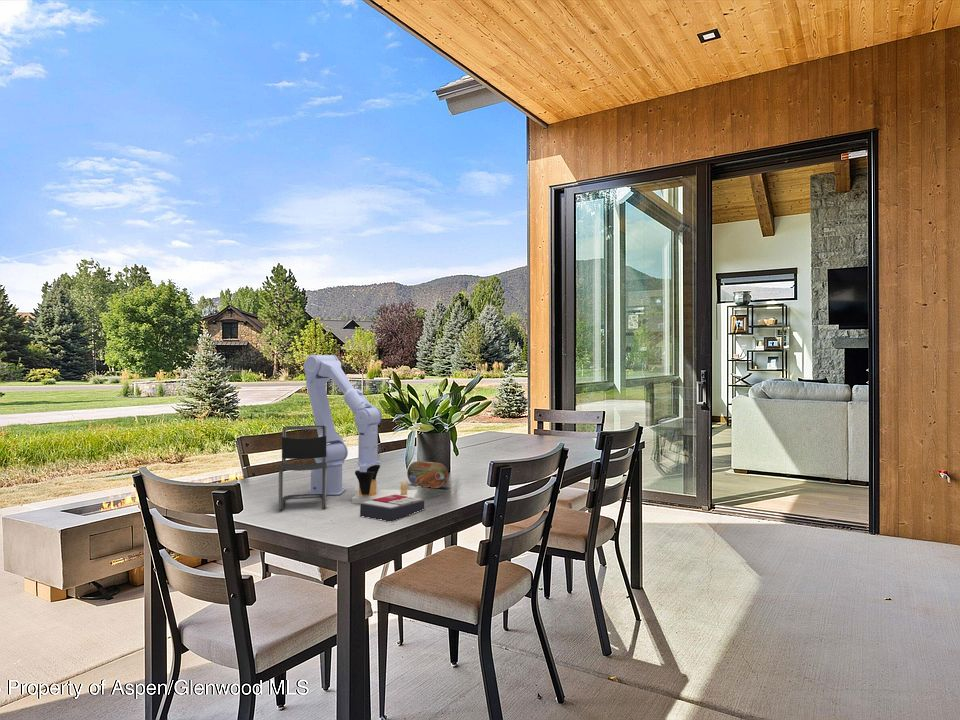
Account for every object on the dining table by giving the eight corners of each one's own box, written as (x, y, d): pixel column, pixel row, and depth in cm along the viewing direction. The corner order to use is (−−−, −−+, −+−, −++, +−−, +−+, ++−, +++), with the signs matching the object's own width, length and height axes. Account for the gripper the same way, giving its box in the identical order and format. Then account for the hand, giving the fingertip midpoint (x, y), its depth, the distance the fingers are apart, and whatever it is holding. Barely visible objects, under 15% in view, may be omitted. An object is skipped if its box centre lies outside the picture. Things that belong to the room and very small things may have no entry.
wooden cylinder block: (357, 495, 181) (357, 482, 181) (361, 492, 186) (361, 479, 186) (374, 495, 180) (374, 482, 180) (377, 492, 185) (377, 479, 185)
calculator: (425, 497, 171) (391, 506, 158) (424, 513, 170) (390, 522, 158) (394, 493, 176) (359, 500, 163) (394, 508, 176) (359, 516, 163)
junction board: (351, 503, 177) (351, 486, 177) (360, 494, 189) (360, 478, 189) (412, 504, 177) (412, 487, 177) (417, 494, 189) (417, 478, 189)
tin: (406, 485, 203) (406, 460, 203) (411, 483, 206) (412, 459, 206) (444, 490, 196) (445, 464, 196) (449, 488, 199) (449, 462, 199)
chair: (326, 496, 187) (326, 425, 186) (326, 509, 170) (326, 432, 170) (282, 498, 183) (282, 426, 183) (278, 512, 167) (278, 433, 166)
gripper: (376, 450, 176) (376, 497, 176) (385, 443, 190) (385, 486, 190) (352, 450, 176) (352, 496, 176) (363, 443, 190) (362, 486, 190)
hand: (367, 491), depth 183 cm, fingers open, 7 cm apart
